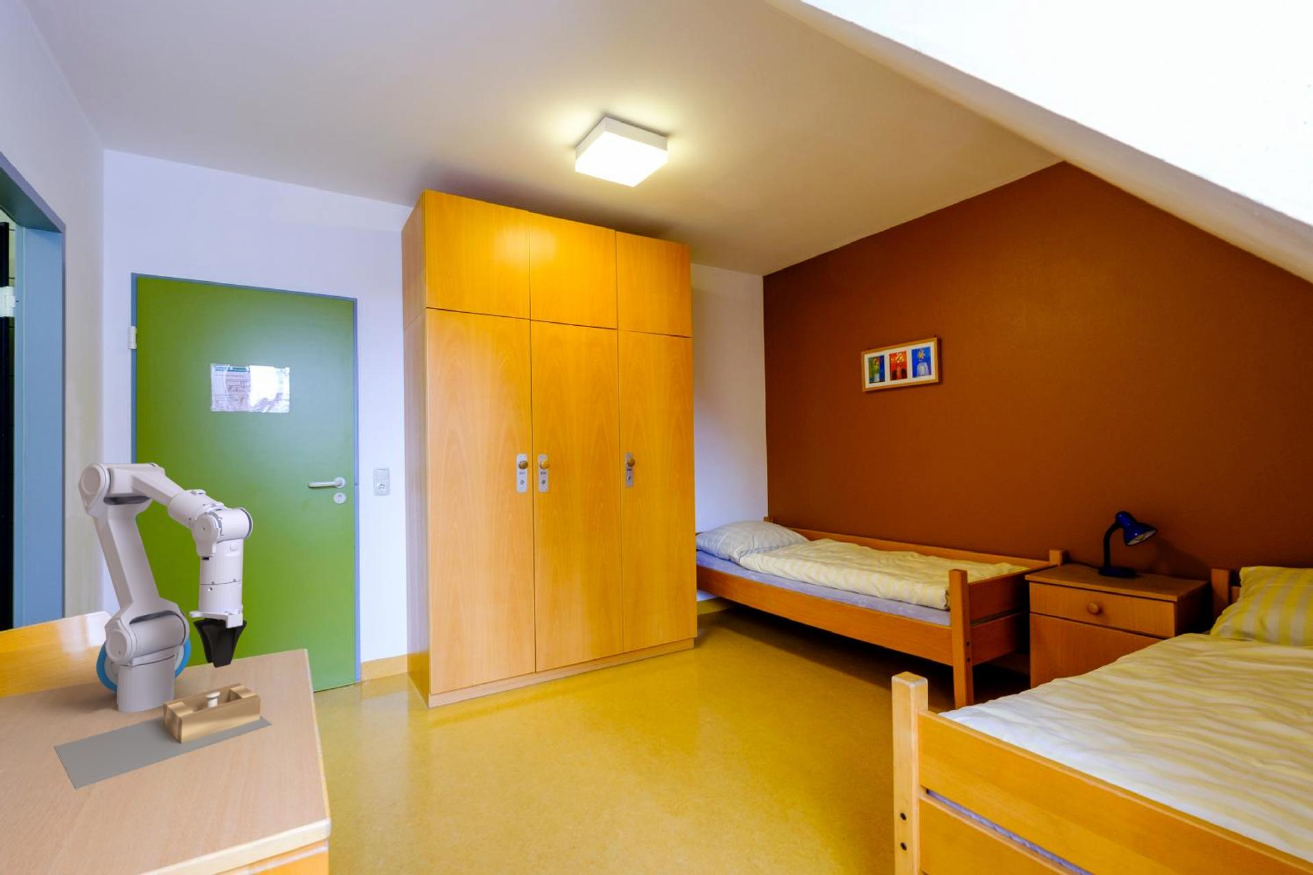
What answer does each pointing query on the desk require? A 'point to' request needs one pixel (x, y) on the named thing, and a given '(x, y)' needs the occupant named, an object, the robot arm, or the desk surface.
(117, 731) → the slate board
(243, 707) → the oak frame
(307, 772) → the desk surface
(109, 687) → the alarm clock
